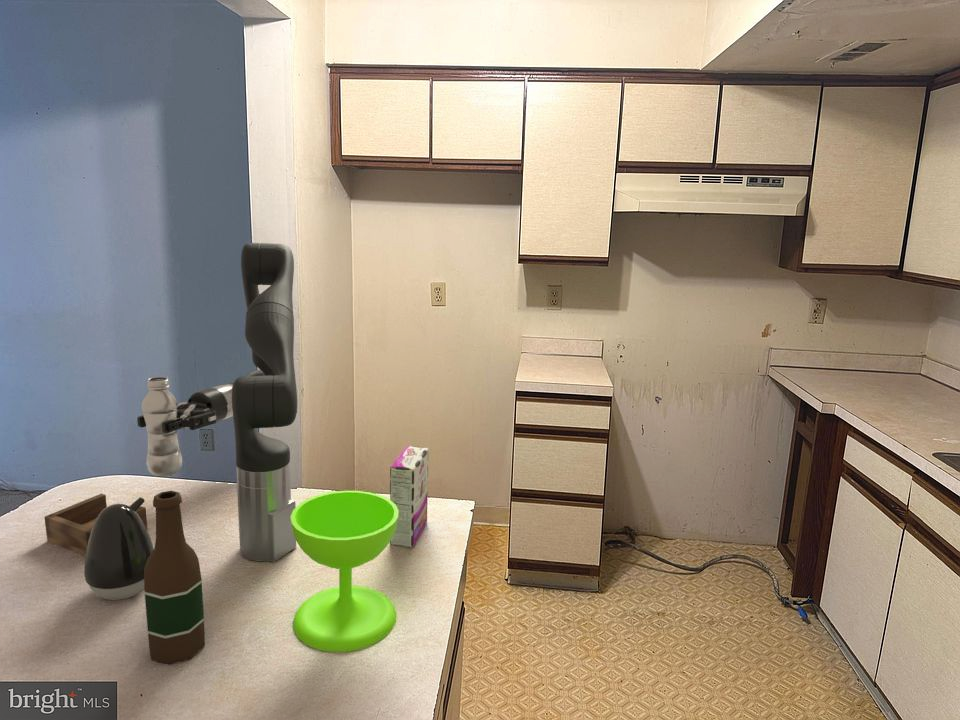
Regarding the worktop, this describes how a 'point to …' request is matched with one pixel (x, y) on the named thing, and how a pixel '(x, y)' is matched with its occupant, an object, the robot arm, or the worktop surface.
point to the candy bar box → (409, 494)
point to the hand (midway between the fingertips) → (151, 425)
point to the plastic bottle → (161, 445)
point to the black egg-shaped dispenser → (117, 552)
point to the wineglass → (344, 568)
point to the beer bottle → (173, 588)
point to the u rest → (78, 523)
